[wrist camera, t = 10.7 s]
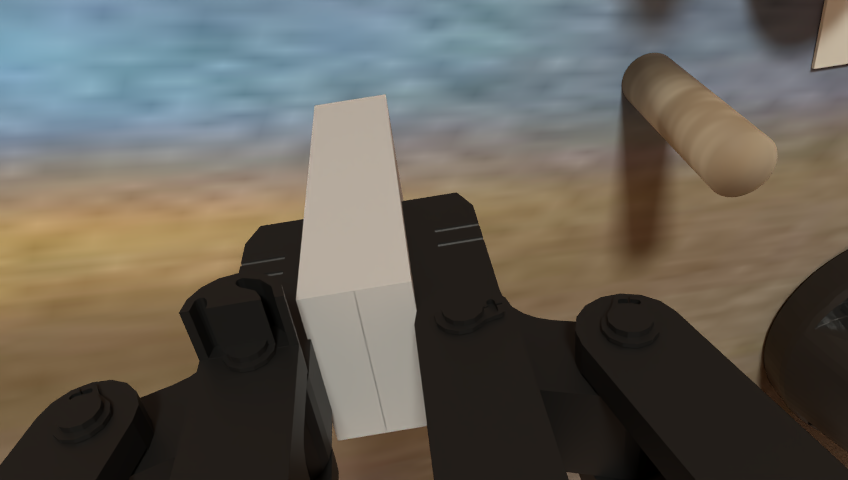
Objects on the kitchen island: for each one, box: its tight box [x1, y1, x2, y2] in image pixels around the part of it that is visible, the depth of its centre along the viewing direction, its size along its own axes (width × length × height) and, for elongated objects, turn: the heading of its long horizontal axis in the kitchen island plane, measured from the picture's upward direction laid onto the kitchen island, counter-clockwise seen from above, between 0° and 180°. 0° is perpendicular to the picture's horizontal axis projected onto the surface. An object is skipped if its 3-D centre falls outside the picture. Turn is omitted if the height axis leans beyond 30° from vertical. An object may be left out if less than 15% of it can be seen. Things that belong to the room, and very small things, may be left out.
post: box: [622, 53, 778, 197], centre depth 28 cm, size 3×3×9 cm
